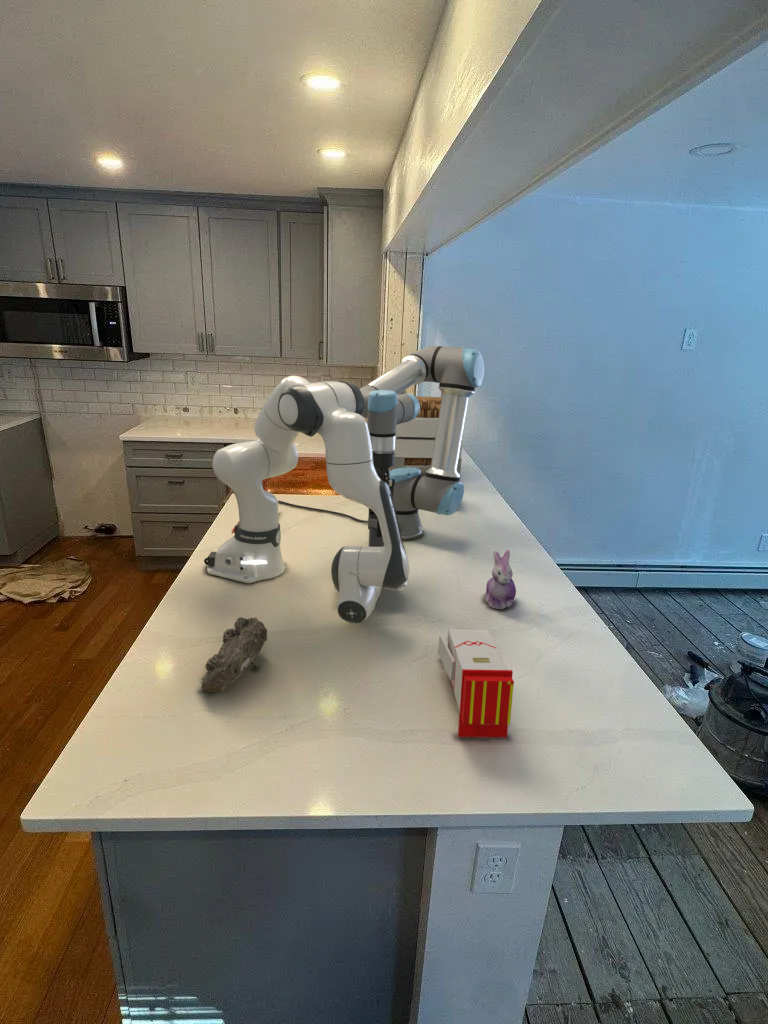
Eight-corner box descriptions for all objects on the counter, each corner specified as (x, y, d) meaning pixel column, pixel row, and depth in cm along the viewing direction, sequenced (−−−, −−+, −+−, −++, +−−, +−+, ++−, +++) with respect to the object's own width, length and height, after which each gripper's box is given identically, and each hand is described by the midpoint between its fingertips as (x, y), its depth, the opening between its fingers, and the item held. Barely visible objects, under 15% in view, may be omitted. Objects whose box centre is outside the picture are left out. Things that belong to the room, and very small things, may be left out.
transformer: (382, 463, 289) (386, 382, 275) (445, 464, 293) (451, 384, 279) (390, 482, 257) (394, 392, 243) (460, 483, 261) (468, 394, 247)
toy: (488, 613, 130) (523, 677, 101) (484, 667, 133) (517, 744, 104) (435, 612, 130) (455, 676, 101) (432, 666, 133) (451, 743, 103)
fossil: (219, 620, 133) (266, 590, 128) (247, 647, 136) (294, 619, 131) (181, 686, 113) (234, 654, 108) (214, 717, 116) (267, 687, 111)
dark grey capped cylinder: (386, 584, 163) (389, 518, 156) (376, 589, 160) (378, 522, 153) (374, 579, 166) (376, 514, 159) (364, 584, 162) (366, 518, 156)
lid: (369, 520, 159) (369, 512, 158) (387, 521, 159) (388, 513, 158) (367, 527, 154) (367, 519, 153) (386, 528, 154) (386, 520, 153)
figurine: (497, 613, 149) (504, 562, 144) (474, 596, 158) (480, 547, 153) (525, 606, 154) (532, 556, 149) (501, 590, 162) (508, 542, 157)
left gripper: (405, 577, 146) (413, 556, 159) (329, 568, 149) (342, 547, 162) (404, 599, 148) (411, 576, 161) (328, 589, 151) (342, 567, 164)
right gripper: (354, 443, 155) (352, 522, 163) (382, 459, 140) (378, 546, 148) (378, 442, 159) (375, 519, 167) (409, 457, 143) (404, 542, 151)
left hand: (376, 562), depth 161 cm, fingers closed on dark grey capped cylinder, 4 cm apart
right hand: (377, 532), depth 157 cm, fingers closed on lid, 5 cm apart
